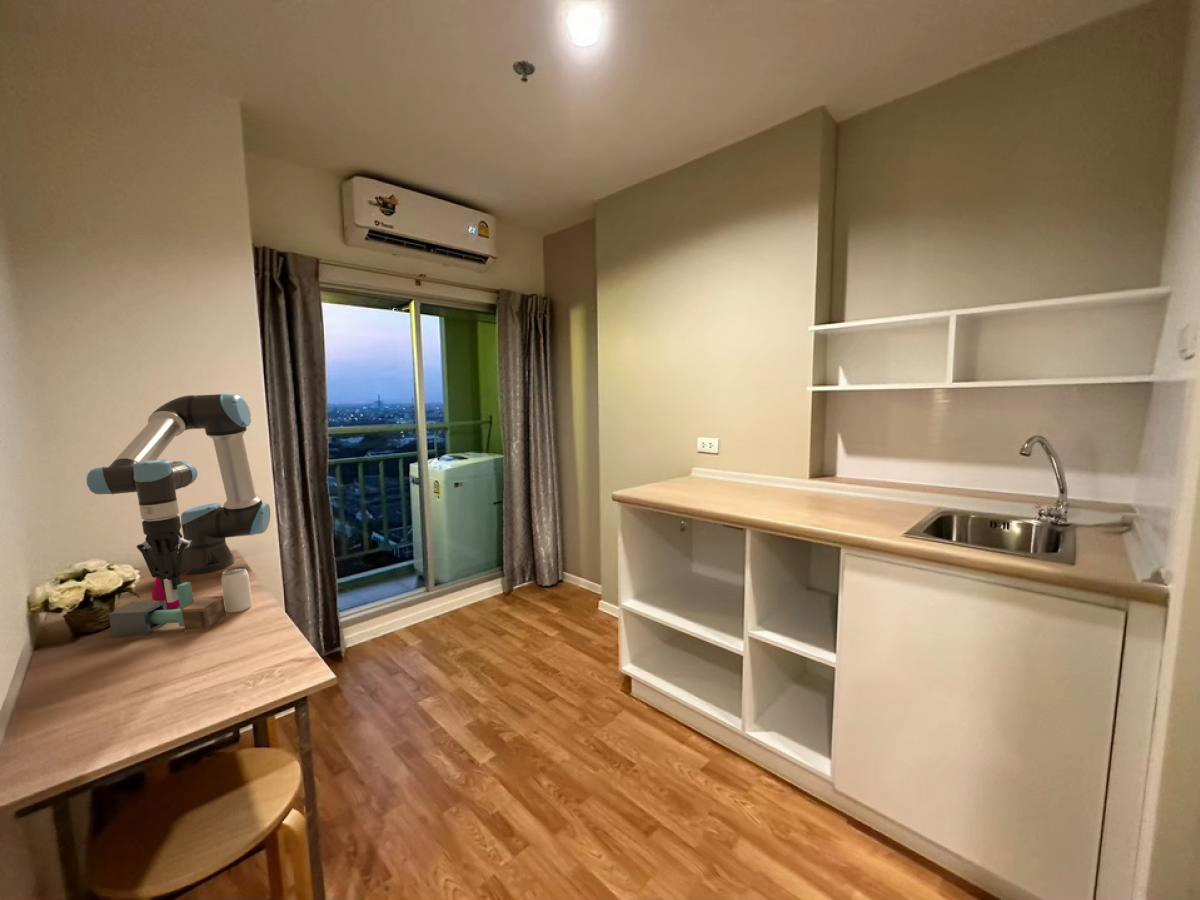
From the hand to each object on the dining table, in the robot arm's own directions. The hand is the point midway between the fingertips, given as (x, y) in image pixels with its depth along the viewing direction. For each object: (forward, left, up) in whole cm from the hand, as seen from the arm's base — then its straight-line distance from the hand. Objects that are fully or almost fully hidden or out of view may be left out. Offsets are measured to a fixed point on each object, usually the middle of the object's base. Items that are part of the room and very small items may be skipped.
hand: (174, 600), depth 131 cm
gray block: (0, -10, -8) cm, 13 cm away
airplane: (0, 0, -7) cm, 7 cm away
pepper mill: (-14, -13, -8) cm, 21 cm away
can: (-10, +10, -8) cm, 16 cm away
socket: (0, +7, -8) cm, 11 cm away
